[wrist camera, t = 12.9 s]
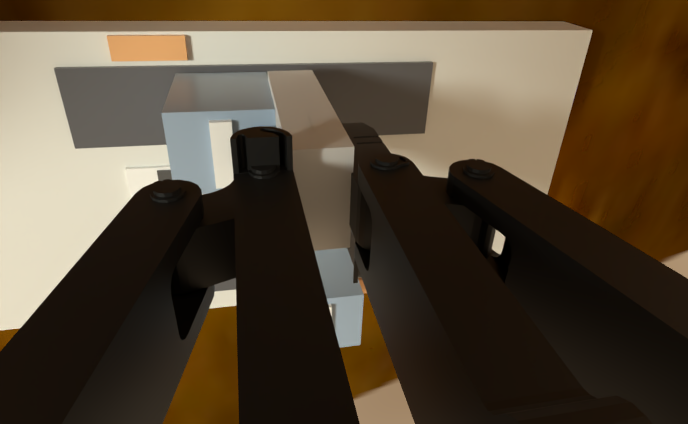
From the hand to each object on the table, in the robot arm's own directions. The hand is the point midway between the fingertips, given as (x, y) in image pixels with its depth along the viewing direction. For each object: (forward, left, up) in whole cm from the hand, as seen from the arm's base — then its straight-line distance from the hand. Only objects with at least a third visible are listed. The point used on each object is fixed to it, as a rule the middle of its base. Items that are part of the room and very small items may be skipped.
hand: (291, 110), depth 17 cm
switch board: (-1, -4, -4) cm, 5 cm away
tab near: (-2, 0, -1) cm, 2 cm away
